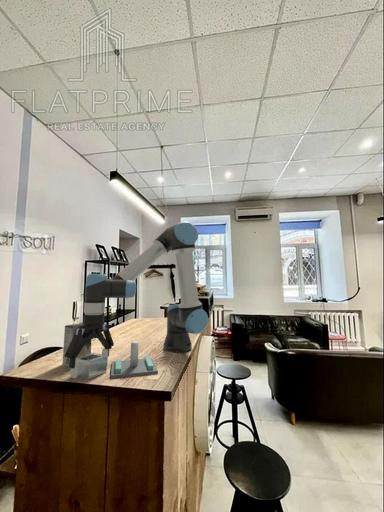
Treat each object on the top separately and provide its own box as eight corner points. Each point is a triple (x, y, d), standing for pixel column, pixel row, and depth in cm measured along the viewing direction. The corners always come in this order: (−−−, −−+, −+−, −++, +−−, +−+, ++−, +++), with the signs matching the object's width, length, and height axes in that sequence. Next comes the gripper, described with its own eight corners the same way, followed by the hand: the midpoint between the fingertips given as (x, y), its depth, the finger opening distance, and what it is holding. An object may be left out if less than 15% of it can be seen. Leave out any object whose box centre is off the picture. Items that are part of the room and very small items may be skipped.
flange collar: (92, 368, 92) (93, 352, 93) (106, 371, 89) (107, 355, 90) (73, 375, 85) (75, 357, 86) (88, 379, 82) (89, 361, 83)
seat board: (152, 360, 103) (153, 337, 104) (158, 373, 88) (158, 346, 89) (112, 363, 98) (113, 339, 99) (110, 378, 83) (112, 349, 84)
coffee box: (82, 359, 104) (84, 322, 106) (90, 361, 100) (93, 323, 102) (61, 364, 96) (64, 325, 98) (70, 367, 93) (73, 326, 95)
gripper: (111, 310, 103) (108, 360, 100) (56, 316, 81) (50, 380, 78) (124, 311, 99) (121, 363, 96) (70, 317, 77) (64, 385, 74)
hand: (89, 371), depth 87 cm, fingers open, 13 cm apart
